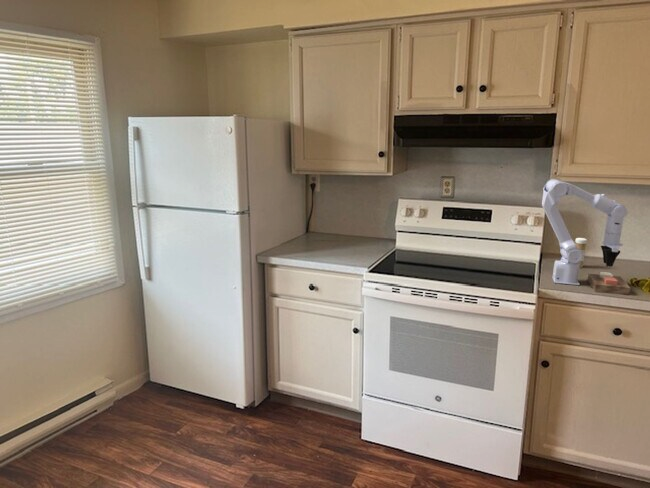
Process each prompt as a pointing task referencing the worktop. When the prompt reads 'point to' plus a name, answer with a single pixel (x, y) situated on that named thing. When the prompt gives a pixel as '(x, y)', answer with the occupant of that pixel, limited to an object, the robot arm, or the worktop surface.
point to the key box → (608, 285)
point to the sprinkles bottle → (581, 248)
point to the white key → (605, 275)
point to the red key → (610, 281)
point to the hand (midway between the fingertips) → (607, 264)
